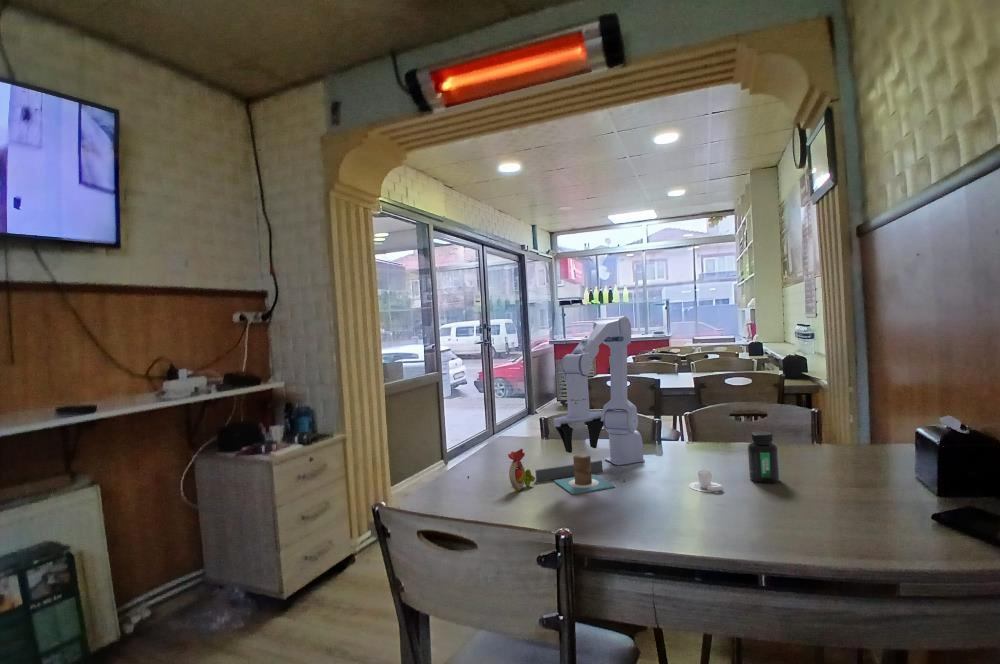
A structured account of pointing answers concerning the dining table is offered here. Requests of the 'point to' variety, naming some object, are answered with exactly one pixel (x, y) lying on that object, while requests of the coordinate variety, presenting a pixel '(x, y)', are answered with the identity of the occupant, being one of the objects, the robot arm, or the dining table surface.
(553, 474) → the low wall
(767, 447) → the supplement bottle
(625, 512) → the dining table surface
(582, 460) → the walnut cylinder
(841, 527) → the dining table surface
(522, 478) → the bird rattle
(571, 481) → the mat
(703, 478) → the teacup and saucer
